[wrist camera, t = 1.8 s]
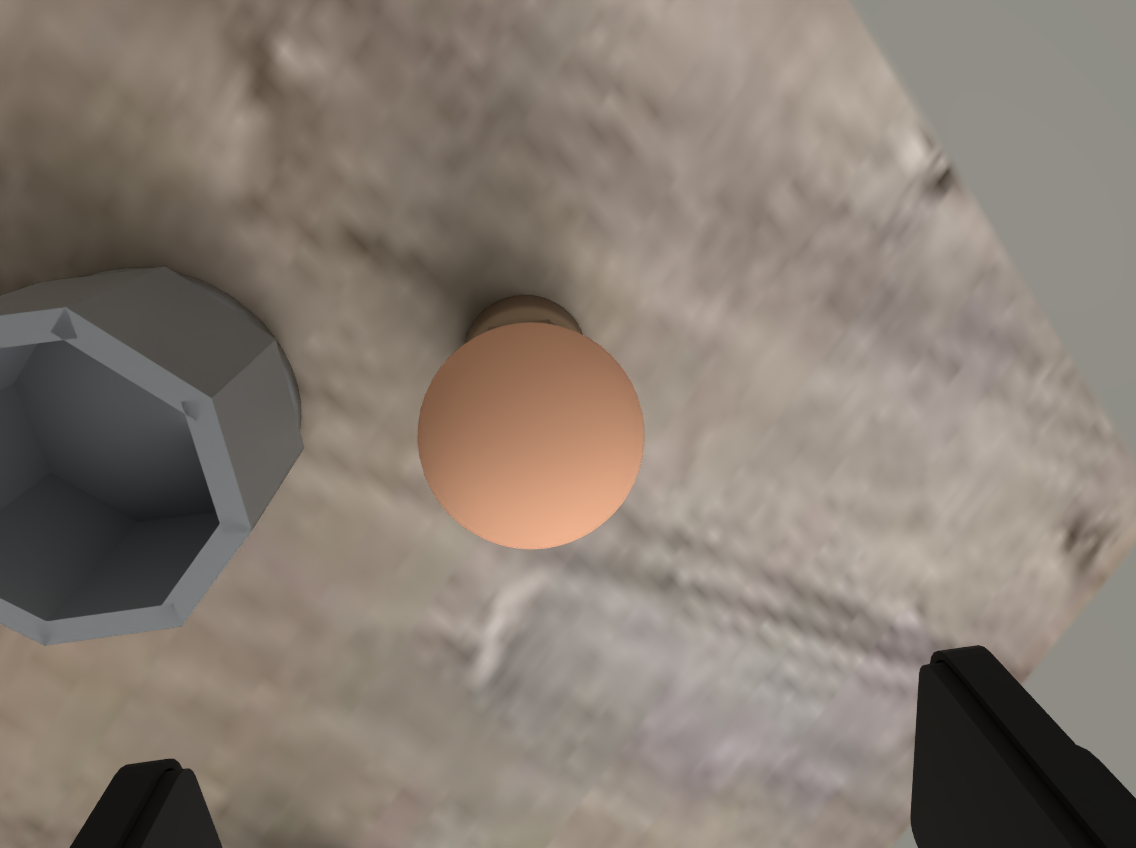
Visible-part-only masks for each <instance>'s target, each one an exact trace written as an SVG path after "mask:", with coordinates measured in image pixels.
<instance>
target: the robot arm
mask: <svg viewBox="0 0 1136 848" xmlns="http://www.w3.org/2000/svg"><path fill="white" fill-rule="evenodd" d="M911 827H912V832H913V835H914V838H915V841H916V844H917V846H918V848H1136V798H1135V797H1134V796H1133V795H1132V794H1131V793H1130V792H1129V791H1128V790H1127V789H1126V788H1125V787H1124V786H1123V785H1122V783H1121V782H1120V781H1119V780H1118V779H1117V778H1116V777H1115V776H1114V775H1113V774H1112V773H1111V772H1110V771H1109V770H1108V769H1107V767H1105V765H1104V764H1103V763H1102V762H1101V761H1100V760H1099V759H1098V758H1096V757H1095V756H1094V755H1093V754H1092V753H1091V752H1090V751H1088V750H1086V749H1084V748H1082V747H1080V746H1078V745H1076V744H1075V743H1074V742H1073V741H1072V740H1071V739H1070V737H1069V736H1067V734H1066V733H1065V732H1064V731H1063V730H1062V729H1061V728H1060V727H1059V726H1058V725H1057V724H1056V722H1055V721H1054V720H1053V719H1052V718H1051V717H1050V716H1049V715H1048V714H1047V713H1046V712H1045V710H1044V709H1043V708H1042V707H1041V706H1040V705H1039V704H1038V703H1037V702H1036V701H1035V700H1034V699H1033V698H1032V696H1031V695H1030V694H1029V693H1028V692H1027V691H1026V690H1025V689H1024V688H1023V687H1022V686H1021V685H1020V684H1019V682H1018V681H1017V680H1016V679H1015V678H1014V677H1013V676H1012V675H1011V674H1010V673H1009V672H1008V671H1007V669H1006V668H1005V667H1004V666H1003V665H1002V664H1001V663H1000V662H999V661H998V660H997V659H996V658H995V657H994V655H993V654H992V653H991V652H990V651H988V650H987V649H986V648H985V647H983V646H979V645H977V646H970V647H963V648H956V649H948V650H941V651H937V652H934V653H933V655H932V656H931V661H930V664H927V665H923V666H922V667H921V668H920V672H919V684H918V701H917V717H916V734H915V750H914V767H913V784H912V800H911ZM70 848H222V845H221V842H220V840H219V837H218V834H217V832H216V829H215V826H214V824H213V821H212V818H211V816H210V813H209V810H208V808H207V805H206V802H205V800H204V797H203V794H202V792H201V789H200V786H199V784H198V781H197V778H196V776H195V774H194V772H193V771H192V770H191V769H182V767H181V765H180V763H179V762H178V761H176V760H175V759H163V760H156V761H149V762H142V763H135V764H128V765H125V766H123V767H122V768H120V769H119V771H118V772H117V773H116V774H115V776H114V777H113V779H112V781H111V782H110V784H109V785H108V787H107V789H106V790H105V792H104V793H103V795H102V797H101V798H100V800H99V801H98V803H97V805H96V806H95V808H94V809H93V811H92V813H91V814H90V816H89V817H88V819H87V821H86V822H85V824H84V825H83V827H82V829H81V830H80V832H79V833H78V835H77V837H76V838H75V840H74V842H73V843H72V845H71V846H70Z"/></svg>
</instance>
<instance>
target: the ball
mask: <svg viewBox="0 0 1136 848" xmlns="http://www.w3.org/2000/svg"><path fill="white" fill-rule="evenodd" d="M418 449H419V456H420V460H421V464H422V468H423V471H424V475H425V477H426V480H427V482H428V484H429V486H430V488H431V490H432V492H433V493H434V495H435V496H436V498H437V500H438V501H439V503H440V504H441V505H442V506H443V508H444V509H445V510H446V511H447V512H448V514H449V515H450V516H452V517H453V518H454V519H455V520H456V521H457V522H458V523H459V524H461V525H462V526H463V527H465V528H466V529H467V530H469V531H471V532H472V533H474V534H476V535H478V536H480V537H481V538H483V539H486V540H488V541H491V542H493V543H496V544H499V545H503V546H507V547H512V548H519V549H542V548H550V547H555V546H560V545H563V544H566V543H569V542H572V541H574V540H576V539H579V538H581V537H583V536H585V535H586V534H588V533H590V532H591V531H593V530H595V529H596V528H597V527H599V526H600V525H601V524H602V523H604V522H605V521H606V520H607V519H608V518H609V517H610V516H611V515H612V514H613V513H614V512H615V511H616V510H617V509H618V508H619V507H620V505H621V504H622V503H623V501H624V500H625V499H626V497H627V495H628V493H629V492H630V490H631V488H632V486H633V484H634V482H635V479H636V477H637V475H638V472H639V469H640V465H641V461H642V457H643V449H644V421H643V415H642V410H641V407H640V403H639V400H638V397H637V394H636V392H635V389H634V387H633V385H632V383H631V381H630V379H629V378H628V376H627V375H626V373H625V372H624V370H623V369H622V367H621V366H620V365H619V364H618V363H617V361H616V360H615V359H614V358H613V357H612V356H611V355H610V354H609V353H608V352H607V351H606V350H605V349H603V348H602V347H601V346H600V345H598V344H597V343H595V342H594V341H592V340H591V339H589V338H588V337H586V336H584V335H581V334H579V333H577V332H575V331H573V330H570V329H567V328H564V327H561V326H557V325H552V324H547V323H534V322H528V323H515V324H510V325H505V326H501V327H498V328H495V329H492V330H489V331H487V332H485V333H483V334H481V335H479V336H477V337H475V338H473V339H472V340H470V341H469V342H467V343H466V344H464V345H463V346H461V347H460V348H459V349H458V350H457V351H455V352H454V353H453V354H452V355H451V356H450V357H449V358H448V359H447V360H446V362H445V363H444V364H443V365H442V366H441V367H440V369H439V371H438V372H437V374H436V375H435V377H434V378H433V380H432V382H431V384H430V386H429V388H428V390H427V392H426V394H425V397H424V400H423V403H422V407H421V410H420V417H419V423H418Z"/></svg>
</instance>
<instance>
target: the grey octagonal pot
mask: <svg viewBox="0 0 1136 848" xmlns="http://www.w3.org/2000/svg"><path fill="white" fill-rule="evenodd" d="M300 428H301V401H300V396H299V390H298V385H297V382H296V379H295V376H294V373H293V370H292V368H291V366H290V364H289V362H288V360H287V357H286V355H285V353H284V352H283V350H282V349H281V347H280V345H279V344H278V342H277V341H276V339H275V338H274V336H273V335H272V334H271V333H270V332H269V330H268V329H267V328H266V327H265V326H264V324H263V323H262V322H261V321H260V320H259V319H258V318H257V317H256V316H254V315H253V314H252V313H251V312H250V311H249V310H248V309H247V308H246V307H244V306H243V305H242V304H240V303H239V302H238V301H236V300H235V299H234V298H232V297H231V296H229V295H227V294H226V293H224V292H222V291H221V290H219V289H217V288H216V287H214V286H211V285H209V284H207V283H205V282H202V281H200V280H198V279H195V278H192V277H189V276H186V275H183V274H180V273H176V272H174V271H172V270H171V269H169V268H168V267H166V266H164V267H156V268H123V269H114V270H109V271H104V272H99V273H96V274H93V275H91V276H85V277H77V278H69V279H61V280H53V281H45V282H39V283H36V284H33V285H30V286H27V287H24V288H21V289H18V290H15V291H12V292H9V293H6V294H3V295H0V624H2V625H4V626H6V627H8V628H10V629H12V630H14V631H16V632H18V633H20V634H22V635H24V636H26V637H28V638H30V639H32V640H34V641H37V642H39V643H41V644H43V645H44V646H46V645H53V644H60V643H67V642H74V641H82V640H89V639H96V638H103V637H110V636H118V635H125V634H132V633H139V632H146V631H153V630H161V629H168V628H175V627H182V625H183V624H184V622H185V621H186V619H187V618H188V617H189V615H190V614H191V613H192V611H193V610H194V609H195V607H196V606H197V604H198V603H199V602H200V600H201V599H202V598H203V596H204V595H205V593H206V592H207V591H208V589H209V588H210V587H211V585H212V584H213V583H214V581H215V580H216V578H217V577H218V576H219V574H220V573H221V572H222V570H223V569H224V567H225V566H226V565H227V563H228V562H229V561H230V559H231V558H232V557H233V555H234V554H235V552H236V551H237V550H238V548H239V547H240V546H241V544H242V543H243V541H244V540H245V539H246V537H247V536H248V535H249V533H250V532H251V531H252V530H253V528H254V526H255V525H256V523H257V522H258V520H259V518H260V517H261V515H262V514H263V512H264V511H265V509H266V507H267V506H268V504H269V503H270V501H271V499H272V498H273V496H274V495H275V493H276V492H277V490H278V488H279V487H280V485H281V484H282V482H283V480H284V479H285V477H286V476H287V474H288V473H289V471H290V469H291V468H292V466H293V465H294V463H295V461H296V460H297V458H298V457H299V455H300V454H301V452H302V450H303V449H304V445H303V441H302V438H301V434H300Z"/></svg>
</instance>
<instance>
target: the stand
mask: <svg viewBox="0 0 1136 848" xmlns="http://www.w3.org/2000/svg"><path fill="white" fill-rule="evenodd" d="M528 322H534V323H547V324H552V325H557V326H561V327H564V328H567V329H570V330H573V331H575V332H577V333H579V334H581V335H583V334H582V332H581V329H580V327H579V325H578V324H577V322H576V321H575V319H574V318H573V317H572V316H571V315H570V314H569V313H568V312H567V311H566V310H565V309H564V308H562V307H561V306H559V305H558V304H556V303H554V302H552V301H550V300H548V299H545V298H542V297H537V296H530V295H521V296H513V297H508V298H505V299H502V300H500V301H498V302H496V303H494V304H492V305H491V306H489V307H488V308H486V309H485V310H484V311H483V312H482V313H481V314H480V315H479V316H478V317H477V318H476V320H475V321H474V323H473V324H472V326H471V328H470V330H469V332H468V334H467V338H466V341H465V344H466V343H467V342H469V341H470V340H472V339H473V338H475V337H477V336H479V335H481V334H483V333H485V332H487V331H489V330H492V329H495V328H498V327H501V326H505V325H510V324H515V323H528Z"/></svg>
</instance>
